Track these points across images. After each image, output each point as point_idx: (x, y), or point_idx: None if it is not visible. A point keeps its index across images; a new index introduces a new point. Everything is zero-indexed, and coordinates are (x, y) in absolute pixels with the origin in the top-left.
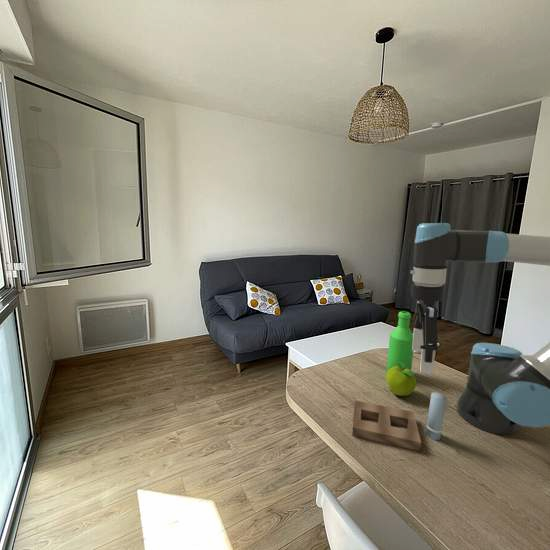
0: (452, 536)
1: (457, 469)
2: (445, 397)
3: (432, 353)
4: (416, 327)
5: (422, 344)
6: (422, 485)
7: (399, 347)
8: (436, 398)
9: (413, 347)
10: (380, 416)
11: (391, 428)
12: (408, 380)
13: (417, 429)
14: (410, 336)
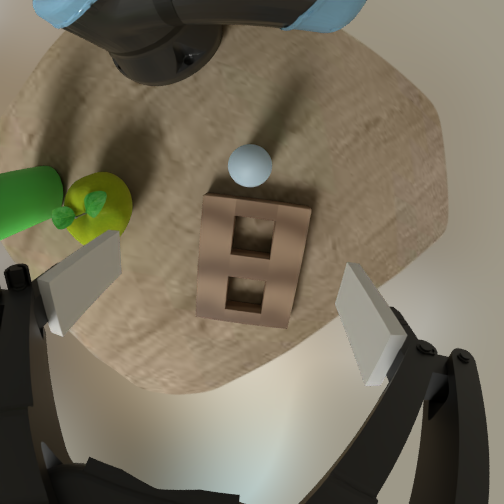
0: (441, 217)
1: (342, 152)
2: (253, 146)
3: (417, 339)
4: (44, 324)
5: (101, 247)
6: (381, 227)
7: (9, 218)
8: (266, 177)
9: (114, 277)
10: (240, 274)
11: (277, 260)
12: (112, 199)
13: (270, 204)
14: None
